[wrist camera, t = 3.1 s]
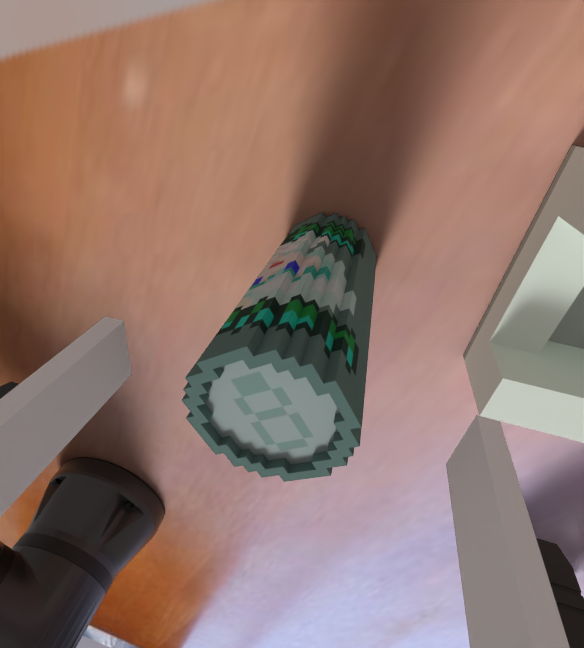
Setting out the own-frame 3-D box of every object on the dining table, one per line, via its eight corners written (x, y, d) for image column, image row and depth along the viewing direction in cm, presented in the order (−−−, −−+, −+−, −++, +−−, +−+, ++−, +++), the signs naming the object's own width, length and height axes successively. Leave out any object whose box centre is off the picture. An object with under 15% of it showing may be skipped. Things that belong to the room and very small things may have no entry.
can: (352, 198, 23) (305, 326, 10) (387, 281, 25) (384, 468, 13) (269, 236, 25) (152, 377, 13) (309, 309, 27) (242, 487, 15)
